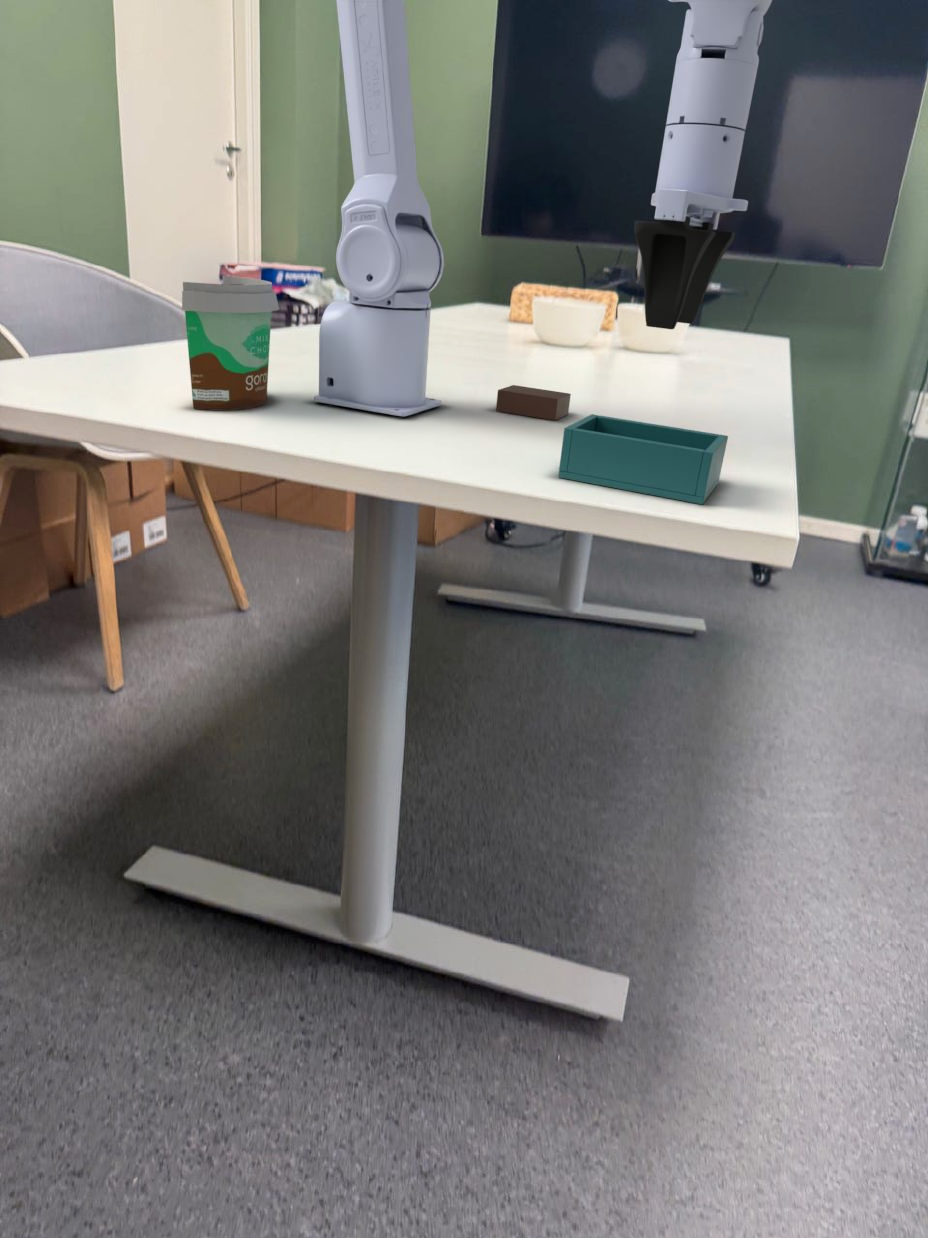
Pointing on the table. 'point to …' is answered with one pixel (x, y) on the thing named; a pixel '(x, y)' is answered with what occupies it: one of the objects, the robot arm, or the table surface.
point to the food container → (229, 341)
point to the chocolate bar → (533, 402)
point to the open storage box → (643, 457)
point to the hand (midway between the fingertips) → (670, 324)
